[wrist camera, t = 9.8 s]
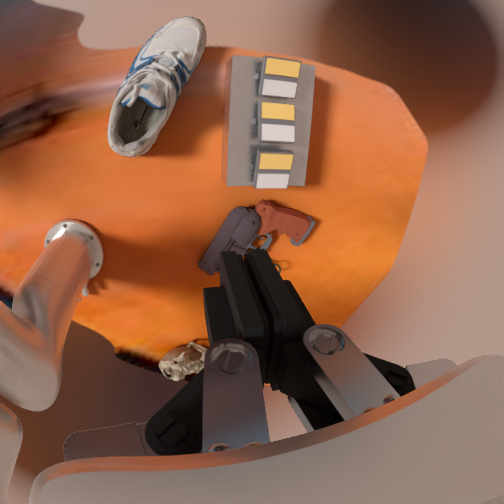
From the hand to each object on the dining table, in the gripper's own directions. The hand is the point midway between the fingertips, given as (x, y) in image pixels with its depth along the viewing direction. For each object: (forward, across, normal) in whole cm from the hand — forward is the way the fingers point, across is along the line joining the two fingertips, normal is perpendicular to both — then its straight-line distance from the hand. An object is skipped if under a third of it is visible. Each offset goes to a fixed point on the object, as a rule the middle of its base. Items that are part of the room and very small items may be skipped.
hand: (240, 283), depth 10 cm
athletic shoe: (+36, +6, -11) cm, 38 cm away
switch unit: (+35, -10, -5) cm, 37 cm away
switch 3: (+27, -10, +2) cm, 29 cm away
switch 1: (+27, -10, -12) cm, 31 cm away
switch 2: (+27, -10, -5) cm, 29 cm away
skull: (+35, +2, +46) cm, 58 cm away
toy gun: (+36, -10, +17) cm, 41 cm away
